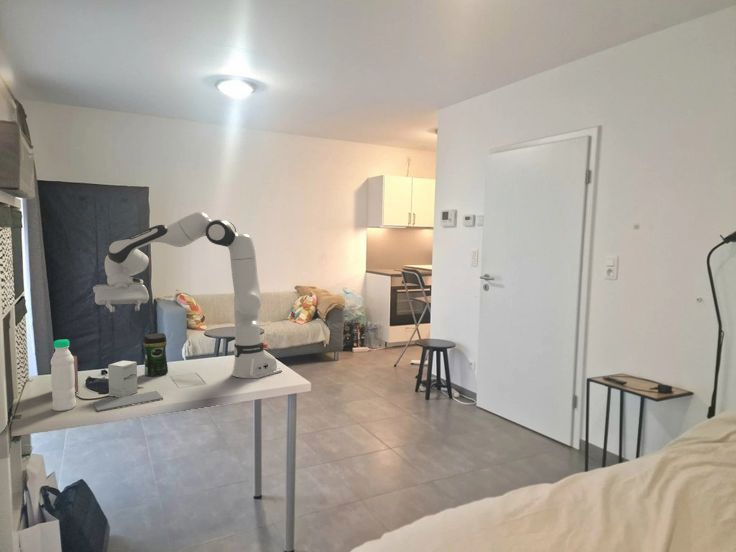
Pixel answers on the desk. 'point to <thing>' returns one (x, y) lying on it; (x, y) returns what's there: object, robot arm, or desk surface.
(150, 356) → the coffee jar
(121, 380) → the supplement box
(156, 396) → the mat
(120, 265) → the robot arm
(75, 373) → the greeting card
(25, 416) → the desk surface
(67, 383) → the water bottle
